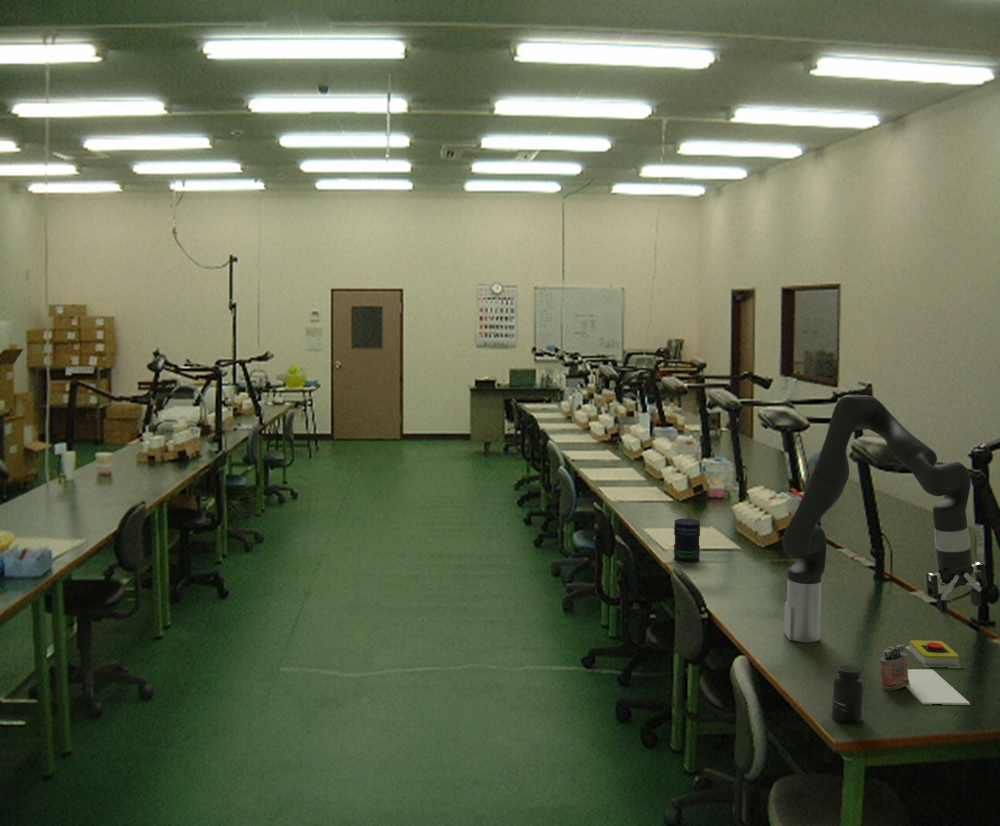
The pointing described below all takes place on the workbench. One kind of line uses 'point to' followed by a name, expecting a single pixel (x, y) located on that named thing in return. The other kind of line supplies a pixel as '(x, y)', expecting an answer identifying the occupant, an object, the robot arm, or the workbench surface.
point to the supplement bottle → (847, 695)
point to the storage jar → (686, 540)
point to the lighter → (894, 668)
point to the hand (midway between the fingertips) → (959, 609)
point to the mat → (933, 688)
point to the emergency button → (934, 654)
